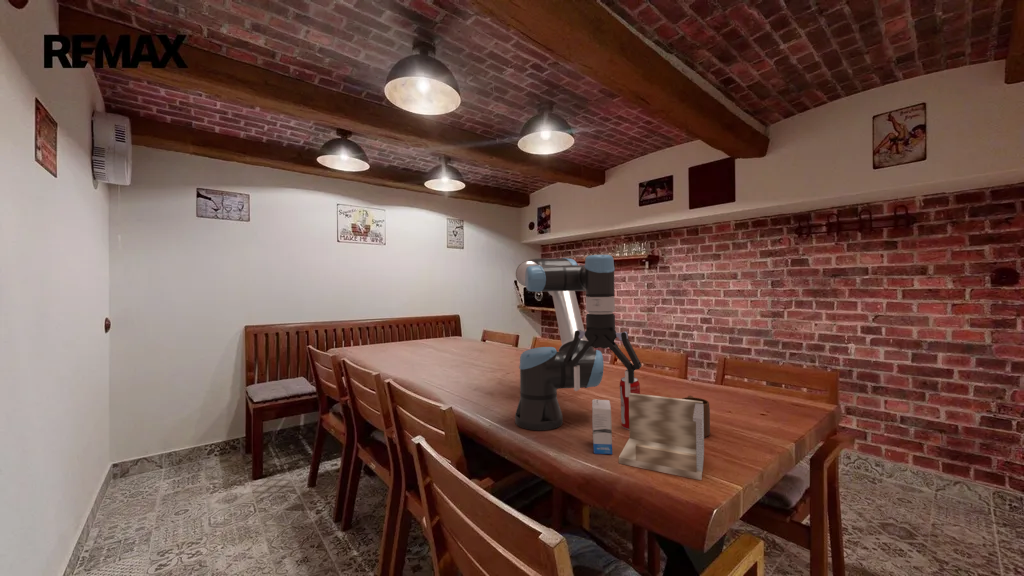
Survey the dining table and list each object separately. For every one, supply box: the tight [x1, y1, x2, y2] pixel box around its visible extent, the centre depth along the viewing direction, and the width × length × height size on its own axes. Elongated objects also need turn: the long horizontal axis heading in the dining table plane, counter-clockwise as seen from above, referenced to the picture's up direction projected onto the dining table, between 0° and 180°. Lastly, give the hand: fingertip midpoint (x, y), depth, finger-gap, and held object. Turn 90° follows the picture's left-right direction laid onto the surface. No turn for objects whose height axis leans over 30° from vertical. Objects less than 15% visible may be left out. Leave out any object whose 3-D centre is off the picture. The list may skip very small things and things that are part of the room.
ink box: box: [591, 398, 613, 455], centre depth 101 cm, size 9×5×12 cm, turn 168°
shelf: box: [618, 393, 703, 481], centre depth 94 cm, size 18×14×14 cm
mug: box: [681, 395, 711, 438], centre depth 112 cm, size 12×8×9 cm, turn 166°
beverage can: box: [619, 376, 641, 431], centre depth 115 cm, size 6×6×15 cm
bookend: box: [693, 403, 705, 473], centre depth 90 cm, size 2×12×12 cm, turn 152°
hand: (601, 392), depth 101 cm, fingers open, 13 cm apart
